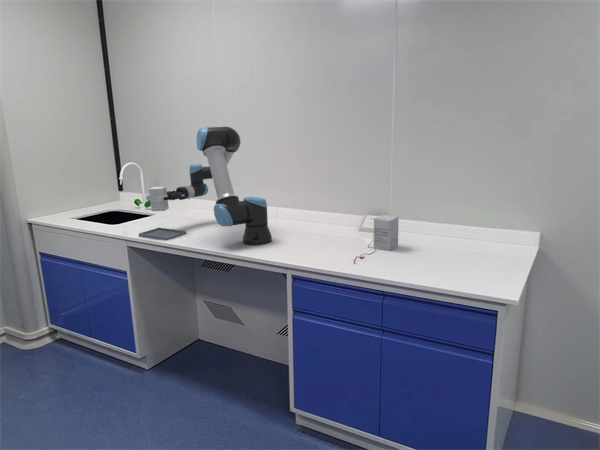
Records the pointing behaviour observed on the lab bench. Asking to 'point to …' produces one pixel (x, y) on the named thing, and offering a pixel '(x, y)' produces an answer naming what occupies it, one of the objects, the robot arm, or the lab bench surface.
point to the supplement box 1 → (154, 194)
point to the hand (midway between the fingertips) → (152, 198)
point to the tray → (162, 233)
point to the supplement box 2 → (386, 232)
